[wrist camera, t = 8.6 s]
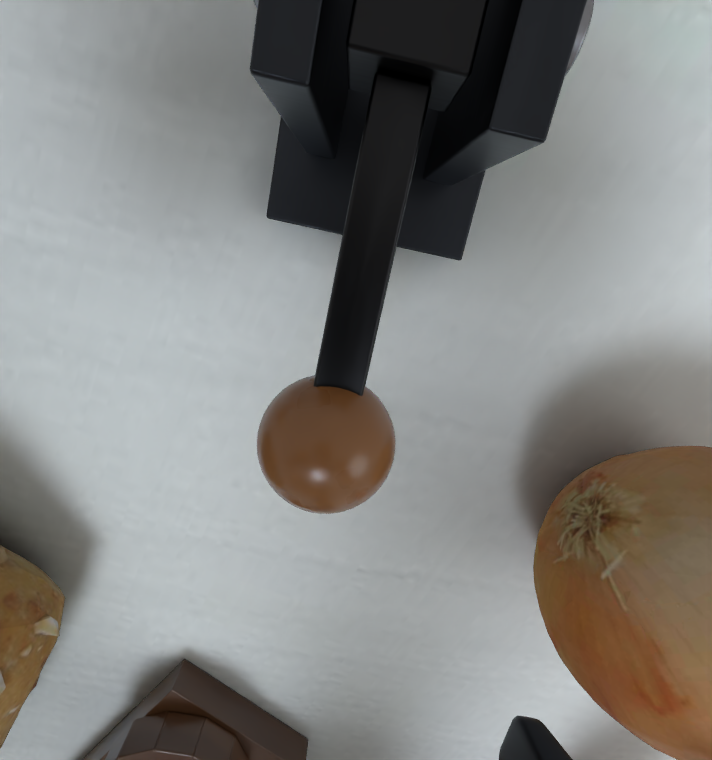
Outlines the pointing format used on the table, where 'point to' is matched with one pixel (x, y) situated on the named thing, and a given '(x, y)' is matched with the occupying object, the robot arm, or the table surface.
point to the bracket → (441, 129)
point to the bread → (24, 631)
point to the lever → (367, 253)
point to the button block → (199, 725)
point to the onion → (636, 592)
